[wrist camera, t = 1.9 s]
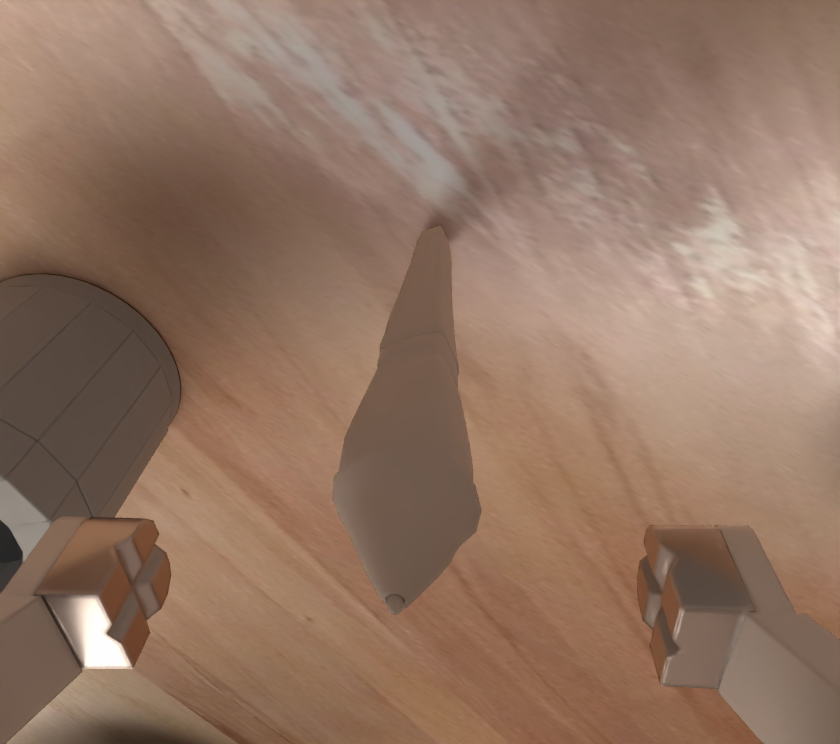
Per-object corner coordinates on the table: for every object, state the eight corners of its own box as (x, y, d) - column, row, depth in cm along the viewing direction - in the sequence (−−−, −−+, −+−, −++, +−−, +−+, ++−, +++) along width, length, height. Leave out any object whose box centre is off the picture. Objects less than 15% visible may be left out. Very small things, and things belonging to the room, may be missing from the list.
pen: (459, 187, 20) (441, 533, 8) (487, 262, 21) (505, 651, 10) (385, 215, 21) (274, 571, 9) (417, 286, 22) (355, 677, 10)
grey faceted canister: (-69, 274, 23) (-307, 423, 16) (148, 271, 22) (-1, 424, 15) (19, 447, 27) (-138, 623, 20) (202, 449, 27) (105, 631, 20)
